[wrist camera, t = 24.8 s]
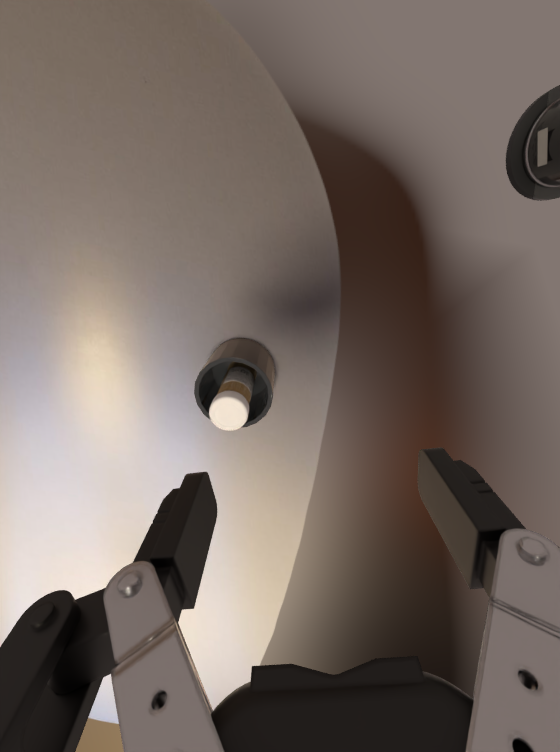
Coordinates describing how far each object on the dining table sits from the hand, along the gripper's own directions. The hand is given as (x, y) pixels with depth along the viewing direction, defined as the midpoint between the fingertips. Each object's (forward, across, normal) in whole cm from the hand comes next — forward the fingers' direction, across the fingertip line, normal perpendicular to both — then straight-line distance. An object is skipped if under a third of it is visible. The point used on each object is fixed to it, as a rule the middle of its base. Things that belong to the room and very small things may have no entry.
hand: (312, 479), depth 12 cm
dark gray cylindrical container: (+36, +9, +8) cm, 38 cm away
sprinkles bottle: (+36, +9, +9) cm, 38 cm away
